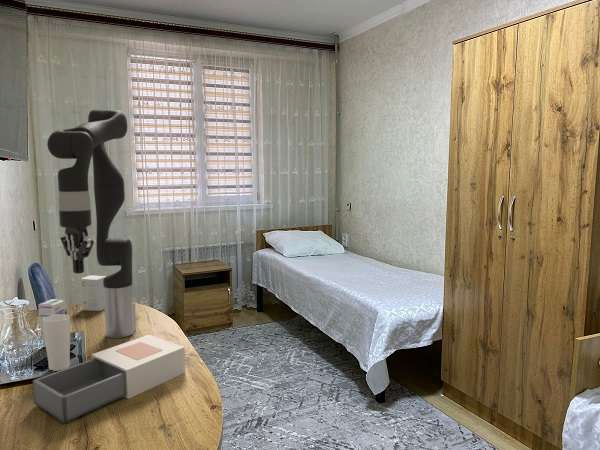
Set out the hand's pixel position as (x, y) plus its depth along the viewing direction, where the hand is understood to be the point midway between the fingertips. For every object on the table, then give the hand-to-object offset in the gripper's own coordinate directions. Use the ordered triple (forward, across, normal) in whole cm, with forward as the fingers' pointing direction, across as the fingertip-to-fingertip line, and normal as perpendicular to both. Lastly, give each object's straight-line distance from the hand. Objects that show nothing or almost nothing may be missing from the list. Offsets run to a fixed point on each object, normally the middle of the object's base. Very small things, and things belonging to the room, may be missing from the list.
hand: (78, 272), depth 122 cm
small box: (+29, +54, -34) cm, 70 cm away
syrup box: (+29, +28, -6) cm, 41 cm away
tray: (+28, -13, +7) cm, 32 cm away
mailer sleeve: (+29, -13, -8) cm, 33 cm away
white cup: (+29, +10, +2) cm, 31 cm away
